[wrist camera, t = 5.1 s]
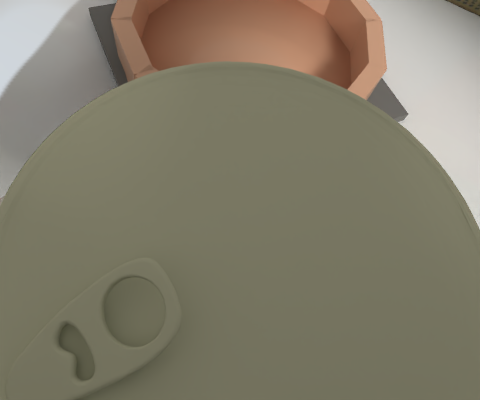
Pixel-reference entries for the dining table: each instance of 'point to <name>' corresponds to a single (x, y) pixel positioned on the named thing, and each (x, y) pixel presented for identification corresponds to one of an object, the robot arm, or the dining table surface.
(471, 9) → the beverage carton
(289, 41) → the bowl
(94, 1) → the dining table surface
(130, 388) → the can
